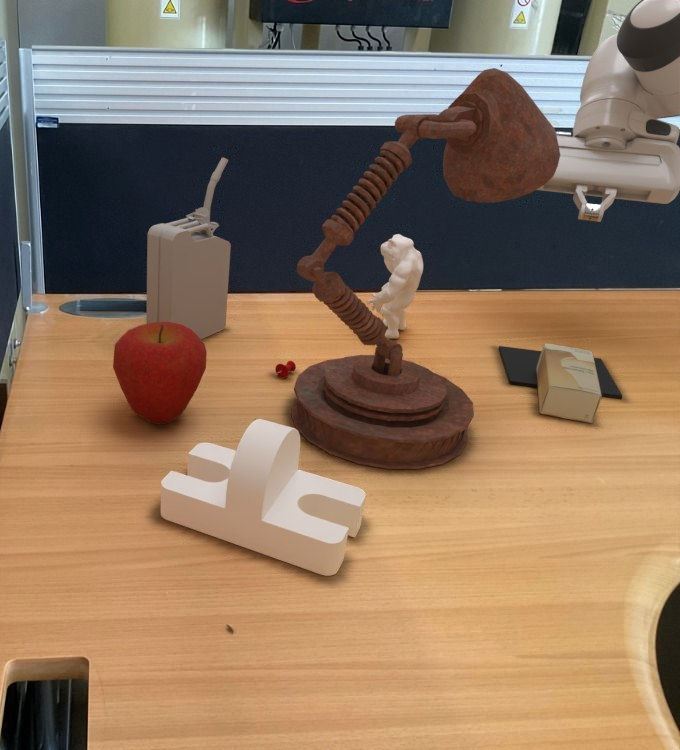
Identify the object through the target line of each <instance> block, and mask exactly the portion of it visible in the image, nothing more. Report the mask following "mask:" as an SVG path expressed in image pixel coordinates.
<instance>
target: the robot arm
mask: <svg viewBox="0 0 680 750" xmlns="http://www.w3.org/2000/svg"><path fill="white" fill-rule="evenodd" d="M579 100H580V107H579V108H578V110H577V112H576V114H575V118H574V123H573V127H572V131H555V132H556V135H557V140H558V145H559V150H560V159H559V163H558V167H557V169H556V172H555V174H554V176H553V177H552V178H551V179H550V180H549V181H548V182H547V183H546V184H545V185H543V186H542V187H540V188H538V189H536V190H535V191H543V192H553V193H561V194H562V193H563V194H571V195H573V197H572V200H573V202H574V204H575V206H576V208H577V209H578V215H577V216H578V217H577V219H578V220H582V221H590V222H598V223H601V222H602V219H603V217H604V213H605V211H606V210H608V209H609V207H610V206H611V205H613V203H614V201H615V199H616V200H626V201H635V202H644V203H652V204H653V203H654V204H660V205H661V204H663V205H667V204H669V203H671V202H672V201H674V200H675V199H676V197H677V196H678V195H679V192H680V146H679V145H678V144H677V143H678V140H679V137H680V126H678V125H675V124H673V123H669V122H667V121H664V120H661V119H668V118H675V117H680V0H639V2H637V3H636V4H635V5H634V6H633V7H632V8H631V9H630V11H629V12H628V13H627V15H626V16H625V18H624V20H623V21H622V23H621V25H620V27H619V30H618V32H617V33H614V34H612V35H611V36H609V37H607V38H606V39H604V40H603V41H602V42H601V43H600V44H599V45H598V46H597V48H596V49H595V50H594V52H593V54H592V55H591V57H590V59H589V61H588V63H587V66H586V69H585V72H584V76H583V79H582V84H581V89H580V93H579ZM586 196H589V197H590V196H591V197H600V198H601V203H600V204H597V203H595V204H594V203H588V201H587V199H586Z"/></svg>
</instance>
